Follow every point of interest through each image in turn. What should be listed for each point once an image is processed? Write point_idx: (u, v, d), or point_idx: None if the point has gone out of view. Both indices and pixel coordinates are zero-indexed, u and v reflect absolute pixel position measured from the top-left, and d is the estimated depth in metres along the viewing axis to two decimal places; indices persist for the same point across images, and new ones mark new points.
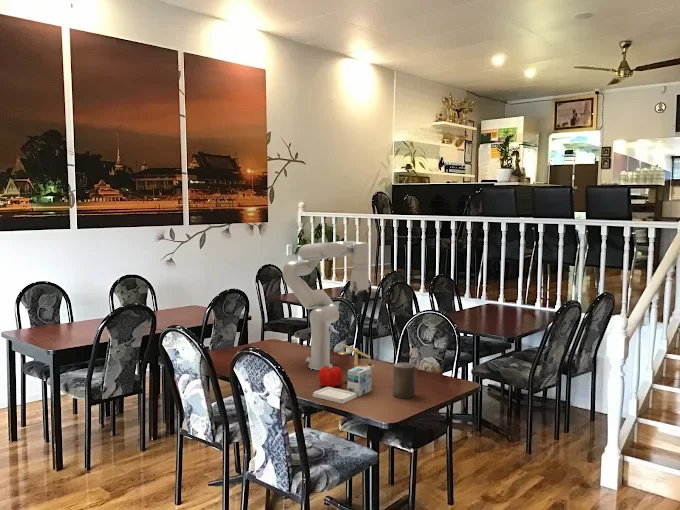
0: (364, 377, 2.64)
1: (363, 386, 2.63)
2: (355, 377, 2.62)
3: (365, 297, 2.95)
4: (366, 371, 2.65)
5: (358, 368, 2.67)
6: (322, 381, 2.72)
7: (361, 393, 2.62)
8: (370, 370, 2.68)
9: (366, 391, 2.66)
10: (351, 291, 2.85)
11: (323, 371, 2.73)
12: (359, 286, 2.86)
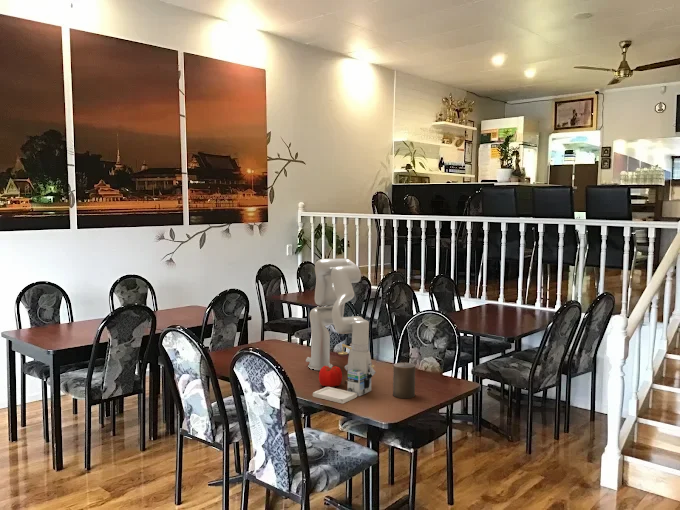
0: (364, 377, 2.64)
1: (363, 386, 2.63)
2: (355, 377, 2.62)
3: None
4: None
5: None
6: (322, 381, 2.72)
7: (361, 393, 2.62)
8: None
9: (366, 391, 2.66)
10: None
11: (323, 371, 2.73)
12: None
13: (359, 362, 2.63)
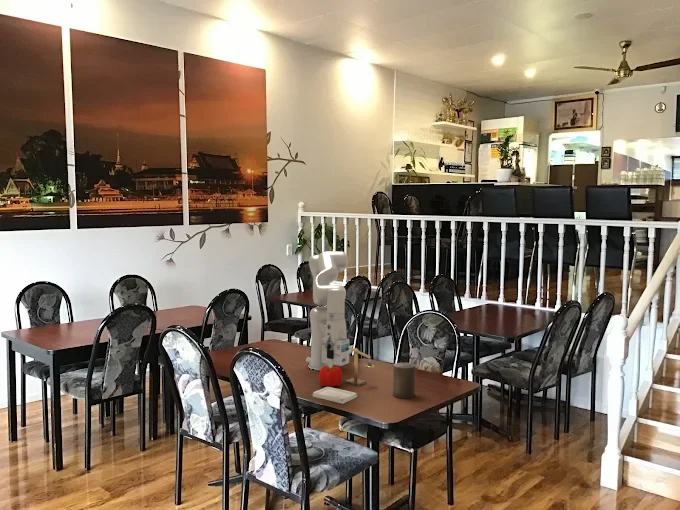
0: None
1: None
2: (346, 345, 2.56)
3: None
4: None
5: None
6: (322, 381, 2.72)
7: None
8: None
9: None
10: None
11: (323, 371, 2.73)
12: None
13: (342, 330, 2.58)
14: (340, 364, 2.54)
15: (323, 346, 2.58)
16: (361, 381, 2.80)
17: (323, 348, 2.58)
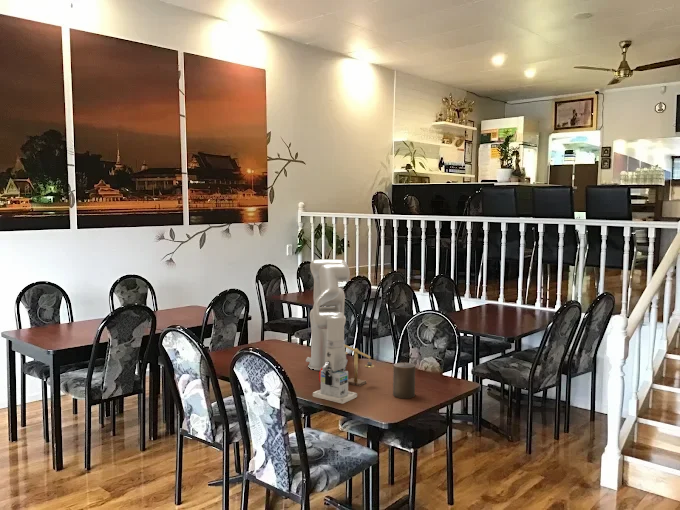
0: None
1: None
2: (345, 377, 2.57)
3: None
4: None
5: None
6: None
7: None
8: None
9: None
10: None
11: None
12: None
13: (342, 357, 2.58)
14: (339, 397, 2.55)
15: (322, 378, 2.59)
16: (361, 381, 2.80)
17: (322, 380, 2.59)
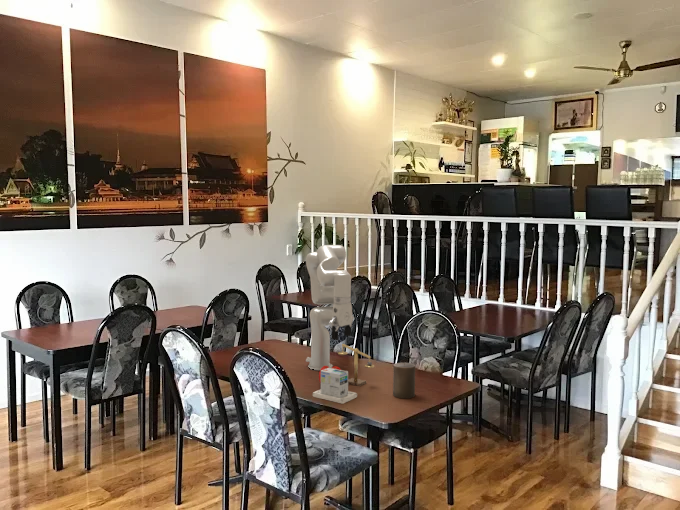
0: None
1: None
2: (345, 377, 2.57)
3: None
4: None
5: (332, 370, 2.59)
6: None
7: None
8: None
9: None
10: None
11: None
12: None
13: (348, 314, 2.67)
14: (339, 397, 2.55)
15: (322, 378, 2.59)
16: (361, 381, 2.80)
17: (322, 380, 2.59)
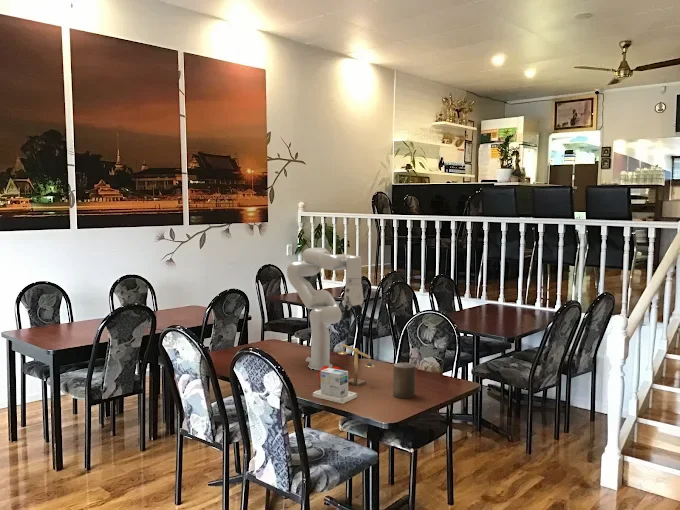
0: None
1: None
2: (345, 377, 2.57)
3: None
4: None
5: (332, 370, 2.59)
6: None
7: None
8: None
9: None
10: None
11: None
12: None
13: (359, 294, 2.86)
14: (339, 397, 2.55)
15: (322, 378, 2.59)
16: (361, 381, 2.80)
17: (322, 380, 2.59)
